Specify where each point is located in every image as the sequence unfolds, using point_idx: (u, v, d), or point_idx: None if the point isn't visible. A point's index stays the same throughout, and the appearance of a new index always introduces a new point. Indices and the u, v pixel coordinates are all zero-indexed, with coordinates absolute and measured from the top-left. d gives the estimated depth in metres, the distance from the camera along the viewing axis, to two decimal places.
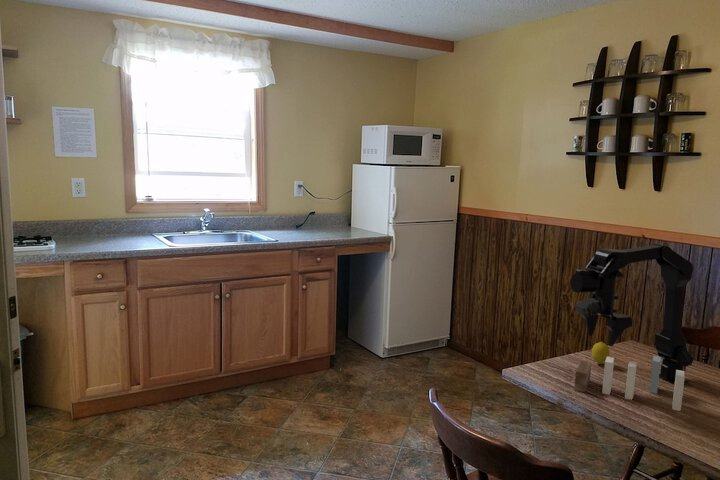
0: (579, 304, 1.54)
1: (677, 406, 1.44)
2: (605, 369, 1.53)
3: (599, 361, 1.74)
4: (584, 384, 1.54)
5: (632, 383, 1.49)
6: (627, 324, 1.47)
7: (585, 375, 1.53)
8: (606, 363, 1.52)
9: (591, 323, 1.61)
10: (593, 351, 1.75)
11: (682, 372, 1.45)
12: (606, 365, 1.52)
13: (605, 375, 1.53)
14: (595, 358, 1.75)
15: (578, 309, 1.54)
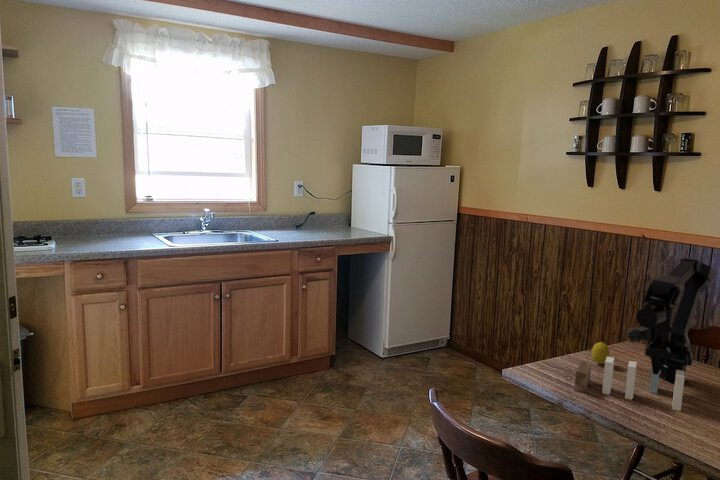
0: (631, 329, 1.59)
1: (677, 406, 1.44)
2: (605, 369, 1.53)
3: (599, 361, 1.74)
4: (584, 384, 1.54)
5: (632, 383, 1.49)
6: (660, 355, 1.46)
7: (585, 375, 1.53)
8: (606, 363, 1.52)
9: None
10: (593, 351, 1.75)
11: (682, 372, 1.45)
12: (606, 365, 1.52)
13: (605, 375, 1.53)
14: (595, 358, 1.75)
15: None
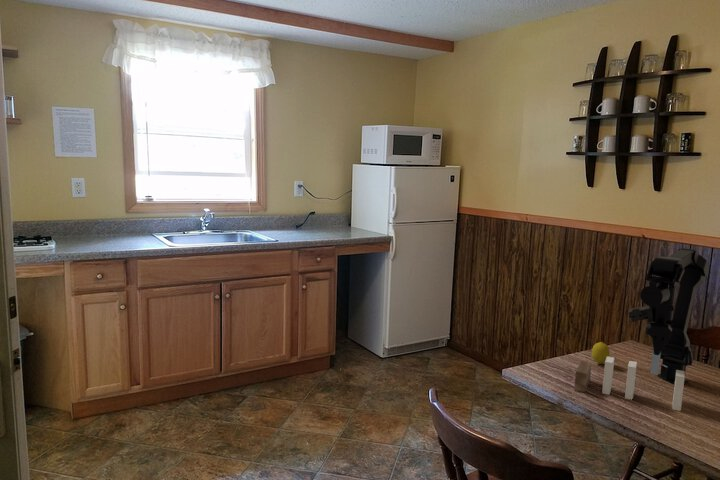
0: (632, 309, 1.55)
1: (677, 406, 1.44)
2: (605, 369, 1.53)
3: (599, 361, 1.74)
4: (584, 384, 1.54)
5: (632, 383, 1.49)
6: (661, 334, 1.42)
7: (585, 375, 1.53)
8: (606, 363, 1.52)
9: None
10: (593, 351, 1.75)
11: (682, 372, 1.45)
12: (606, 365, 1.52)
13: (605, 375, 1.53)
14: (595, 358, 1.75)
15: None
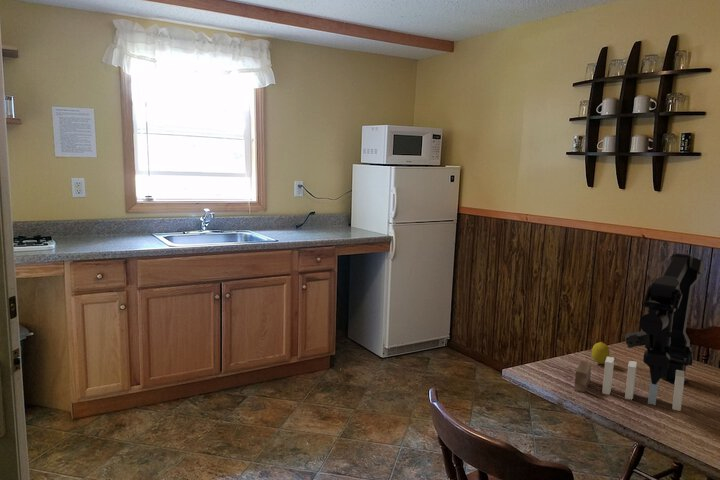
0: (629, 334, 1.51)
1: (677, 406, 1.44)
2: (605, 369, 1.53)
3: (599, 361, 1.74)
4: (584, 384, 1.54)
5: (632, 383, 1.49)
6: (659, 362, 1.39)
7: (585, 375, 1.53)
8: (606, 363, 1.52)
9: None
10: (593, 351, 1.75)
11: (682, 372, 1.45)
12: (606, 365, 1.52)
13: (605, 375, 1.53)
14: (595, 358, 1.75)
15: None
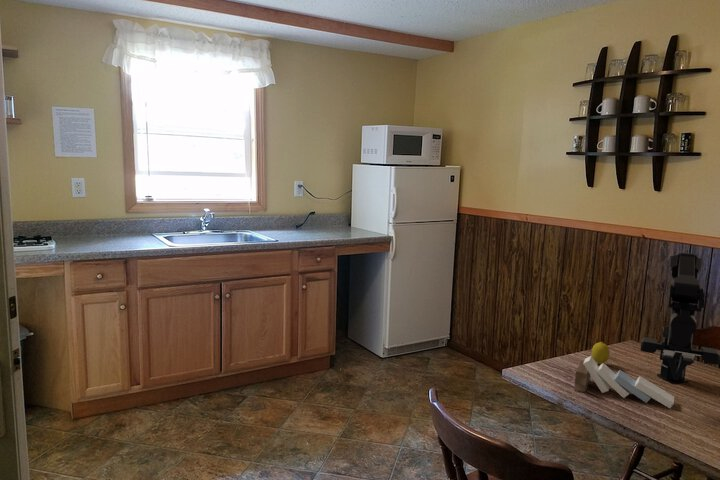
0: None
1: (667, 403, 1.45)
2: (588, 370, 1.55)
3: (599, 361, 1.75)
4: (584, 384, 1.54)
5: (613, 381, 1.52)
6: None
7: (585, 375, 1.53)
8: (585, 364, 1.55)
9: (678, 366, 1.44)
10: (593, 351, 1.75)
11: (638, 378, 1.51)
12: (586, 366, 1.55)
13: (592, 375, 1.55)
14: (595, 358, 1.75)
15: None
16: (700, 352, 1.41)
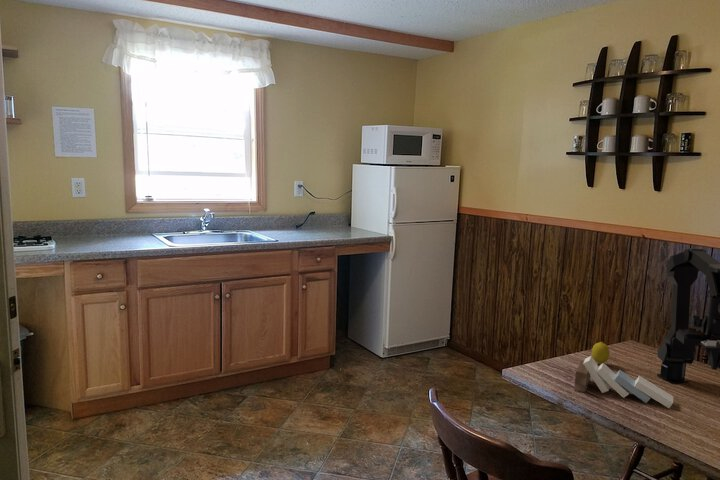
0: None
1: (666, 403, 1.45)
2: (588, 370, 1.55)
3: (599, 361, 1.74)
4: (584, 384, 1.54)
5: (613, 381, 1.52)
6: (681, 339, 1.40)
7: (585, 375, 1.53)
8: (585, 364, 1.55)
9: None
10: (593, 351, 1.75)
11: (638, 378, 1.51)
12: (586, 366, 1.55)
13: (592, 375, 1.55)
14: (595, 358, 1.75)
15: None
16: None
